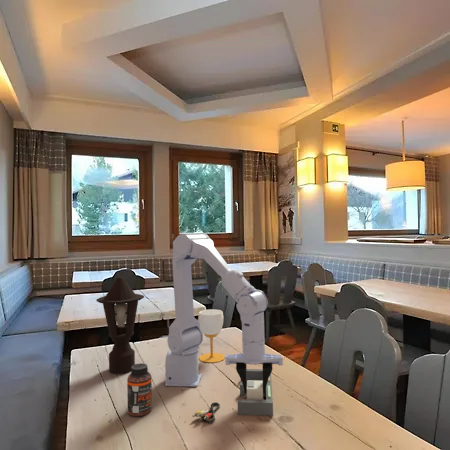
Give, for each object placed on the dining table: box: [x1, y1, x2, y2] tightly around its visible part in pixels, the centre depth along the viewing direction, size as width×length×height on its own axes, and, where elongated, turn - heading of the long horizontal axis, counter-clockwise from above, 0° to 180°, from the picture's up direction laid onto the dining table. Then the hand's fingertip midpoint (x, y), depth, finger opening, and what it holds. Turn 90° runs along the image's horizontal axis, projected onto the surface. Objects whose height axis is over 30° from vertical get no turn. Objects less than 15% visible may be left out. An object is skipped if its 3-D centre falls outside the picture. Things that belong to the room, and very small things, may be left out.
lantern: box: [95, 276, 145, 375], centre depth 117 cm, size 15×15×30 cm
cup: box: [197, 308, 226, 364], centre depth 125 cm, size 9×9×16 cm
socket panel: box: [237, 368, 274, 416], centre depth 97 cm, size 8×20×3 cm, turn 174°
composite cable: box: [191, 402, 221, 424], centre depth 87 cm, size 10×5×2 cm, turn 150°
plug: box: [246, 380, 264, 400], centre depth 92 cm, size 4×5×5 cm
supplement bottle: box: [126, 362, 153, 417], centre depth 90 cm, size 6×6×11 cm
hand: (254, 392), depth 92 cm, fingers closed on plug, 4 cm apart
